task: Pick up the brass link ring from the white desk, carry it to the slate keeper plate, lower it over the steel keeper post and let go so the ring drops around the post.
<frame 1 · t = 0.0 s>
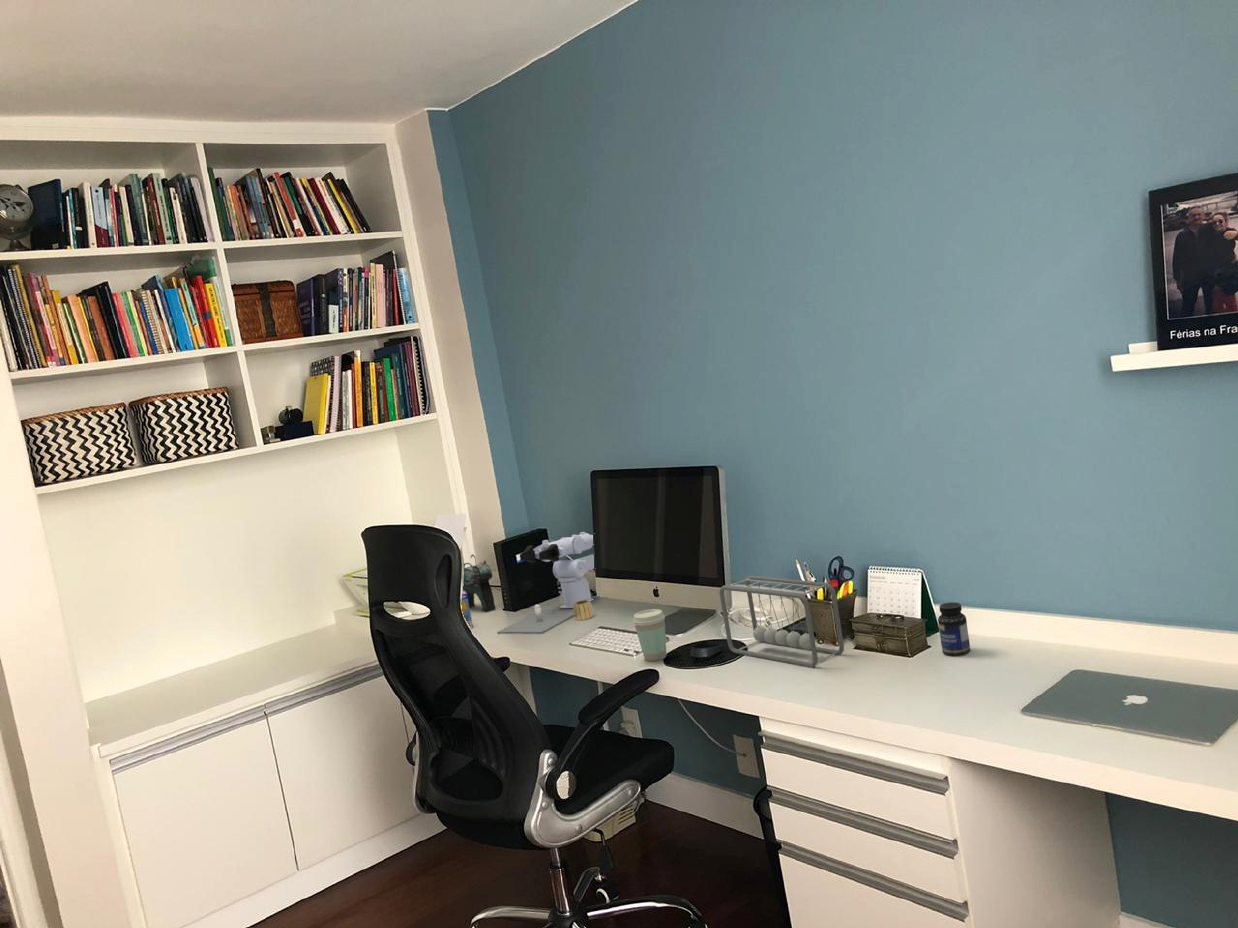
hand: (530, 556, 317), 22 cm above the table, tool horizontal, fingers open, 7 cm apart
ink cartridge box: (458, 630, 329), on the table
pill bottle: (956, 653, 225), on the table
coffee cup: (655, 658, 261), on the table
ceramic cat: (479, 609, 355), on the table
keeper post: (540, 622, 320), on the table
brass link ring: (584, 617, 316), on the table
newton's cradle: (785, 654, 245), on the table
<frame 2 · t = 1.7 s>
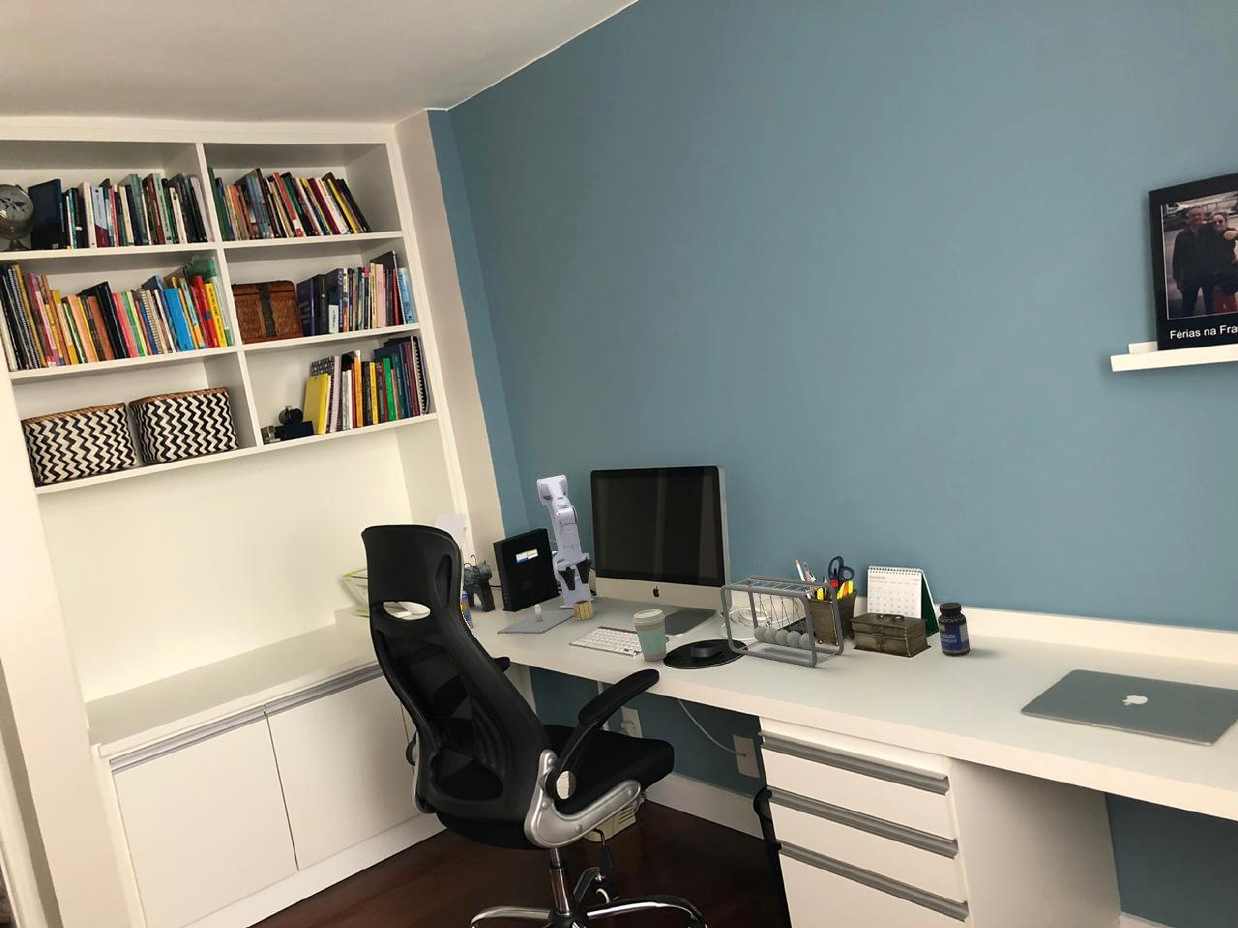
hand: (578, 586, 315), 10 cm above the table, tool pointing down, fingers open, 7 cm apart
nothing on the table moved.
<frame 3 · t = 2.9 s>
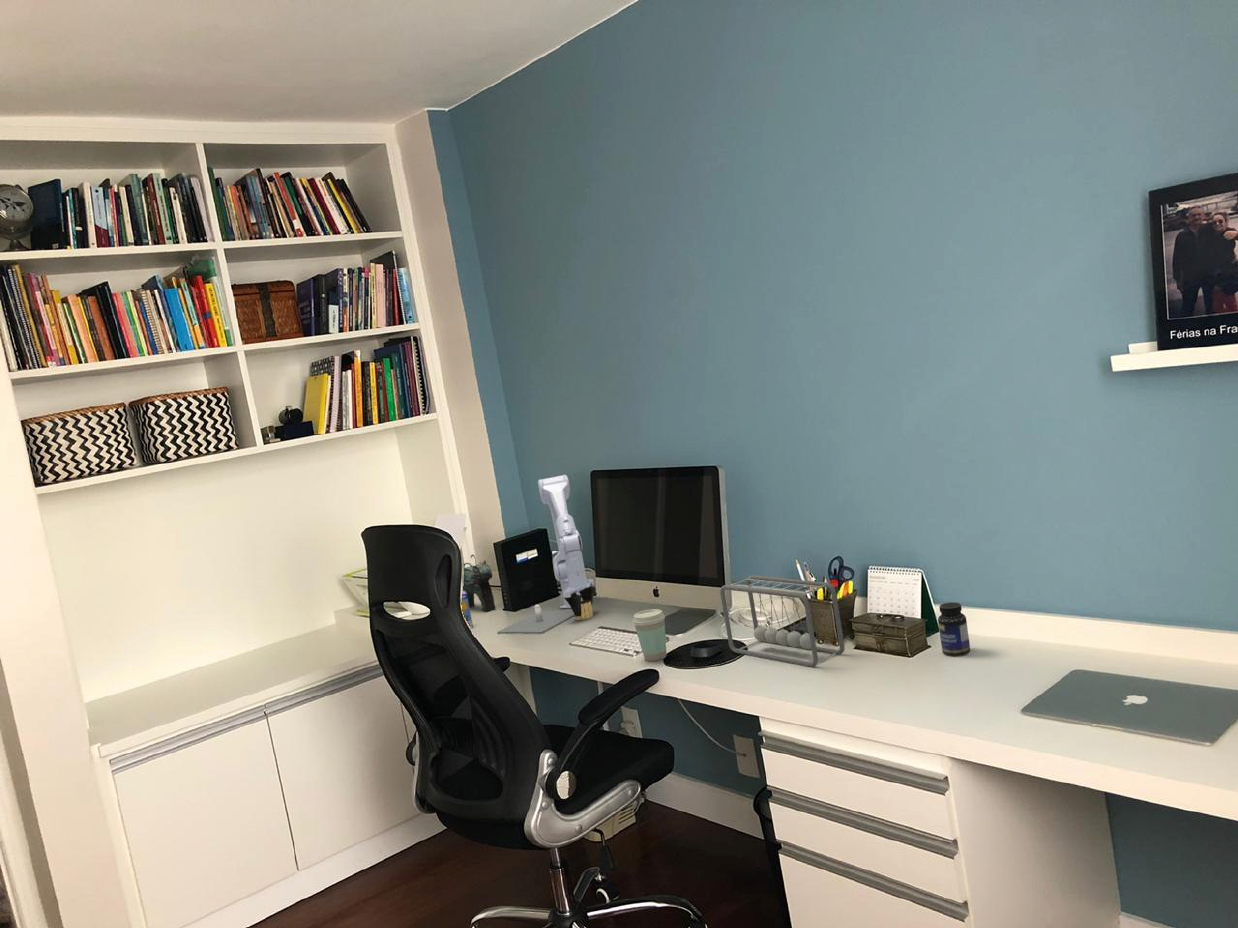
hand: (583, 613, 316), 1 cm above the table, tool pointing down, fingers closed on brass link ring, 6 cm apart
brass link ring: (584, 617, 316), on the table, touching gripper
everything else where it was.
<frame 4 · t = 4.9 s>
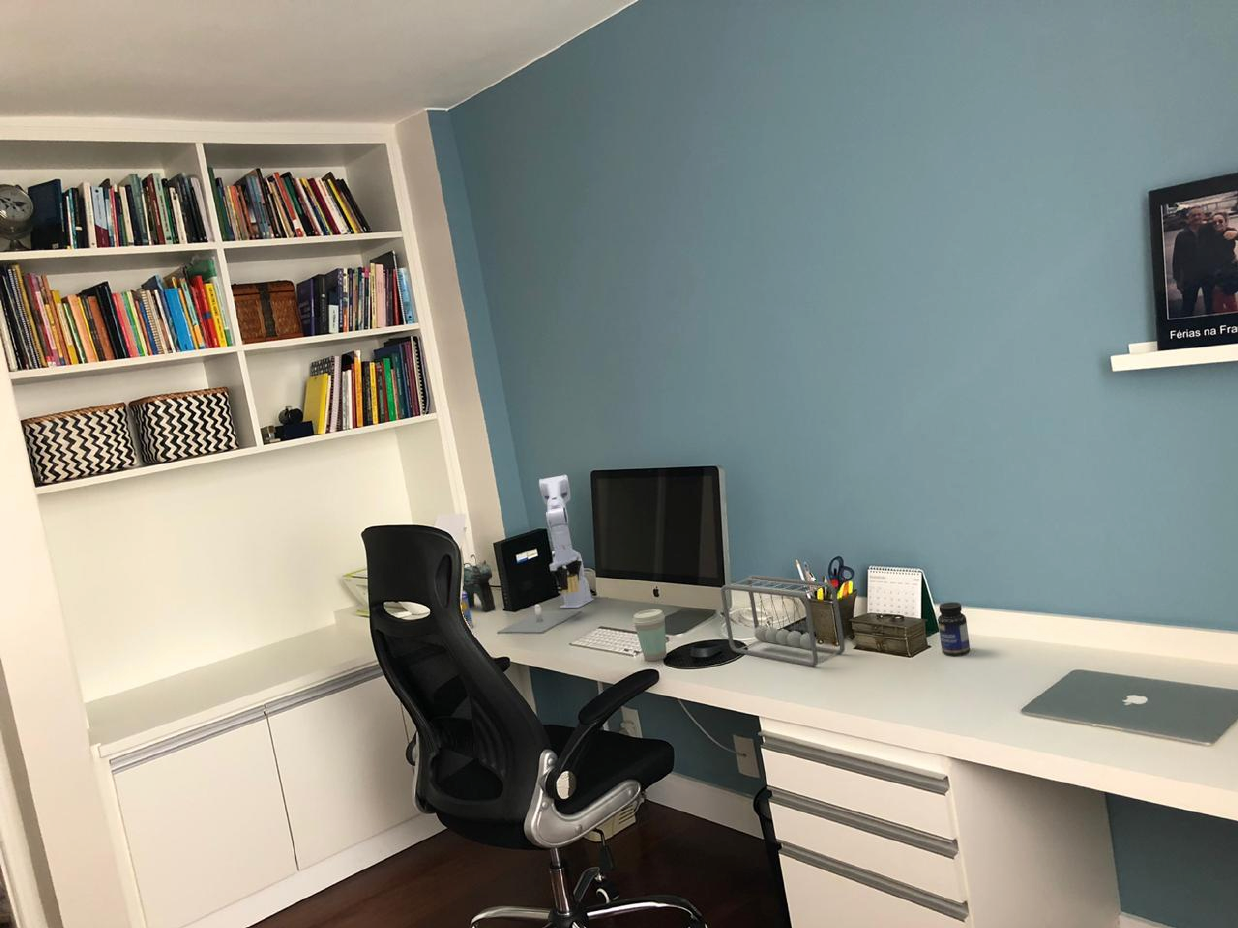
hand: (570, 586, 316), 10 cm above the table, tool pointing down, fingers closed on brass link ring, 6 cm apart
brass link ring: (570, 591, 316), point 9 cm above the table, touching gripper
everything else where it was.
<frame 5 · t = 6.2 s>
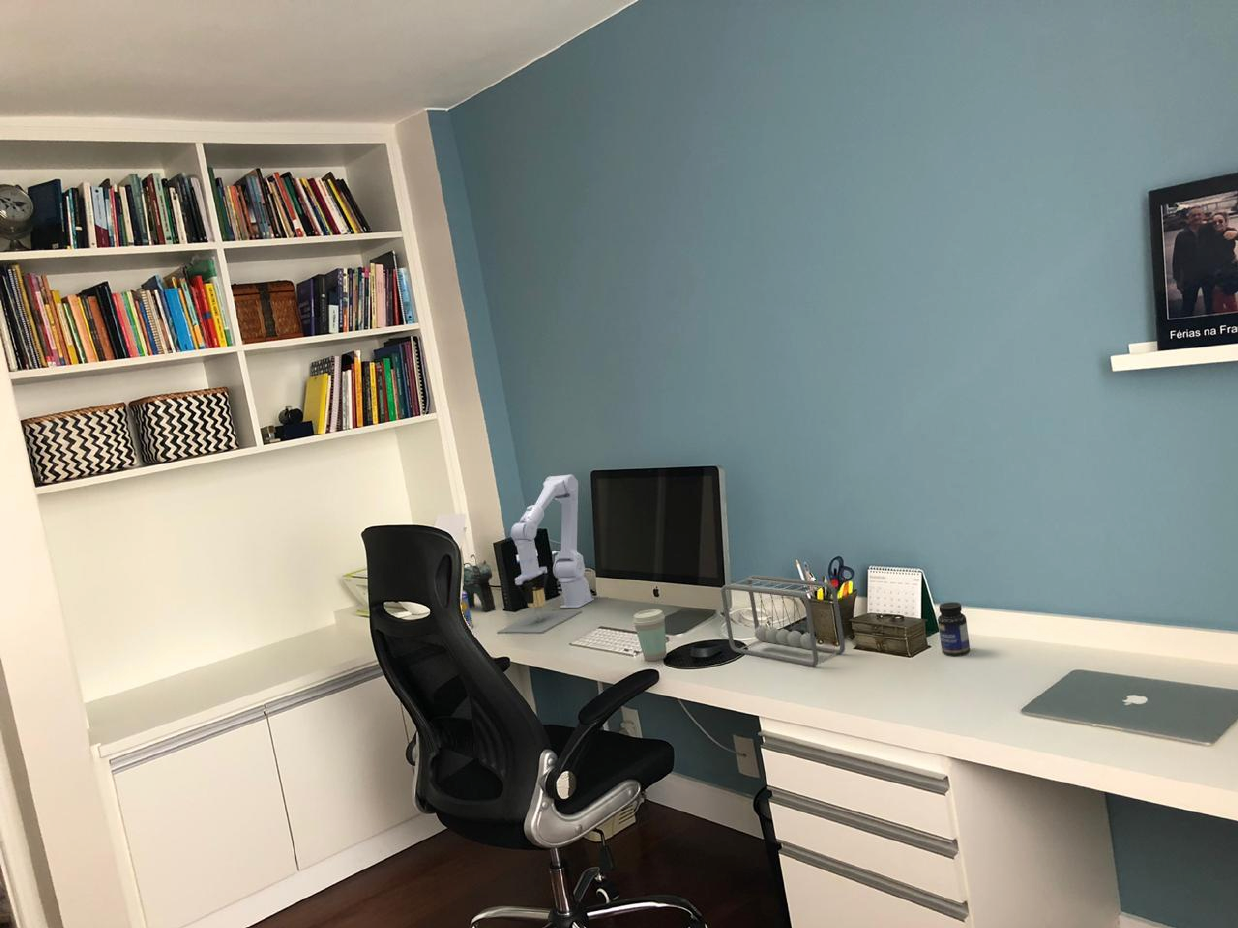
hand: (536, 600, 319), 7 cm above the table, tool pointing down, fingers closed on brass link ring, 6 cm apart
brass link ring: (537, 604, 319), point 6 cm above the table, touching gripper
everything else where it was.
when the fingers open (5 cm above the table, at t = 7.2 s): brass link ring drops 3 cm, resting on keeper post.
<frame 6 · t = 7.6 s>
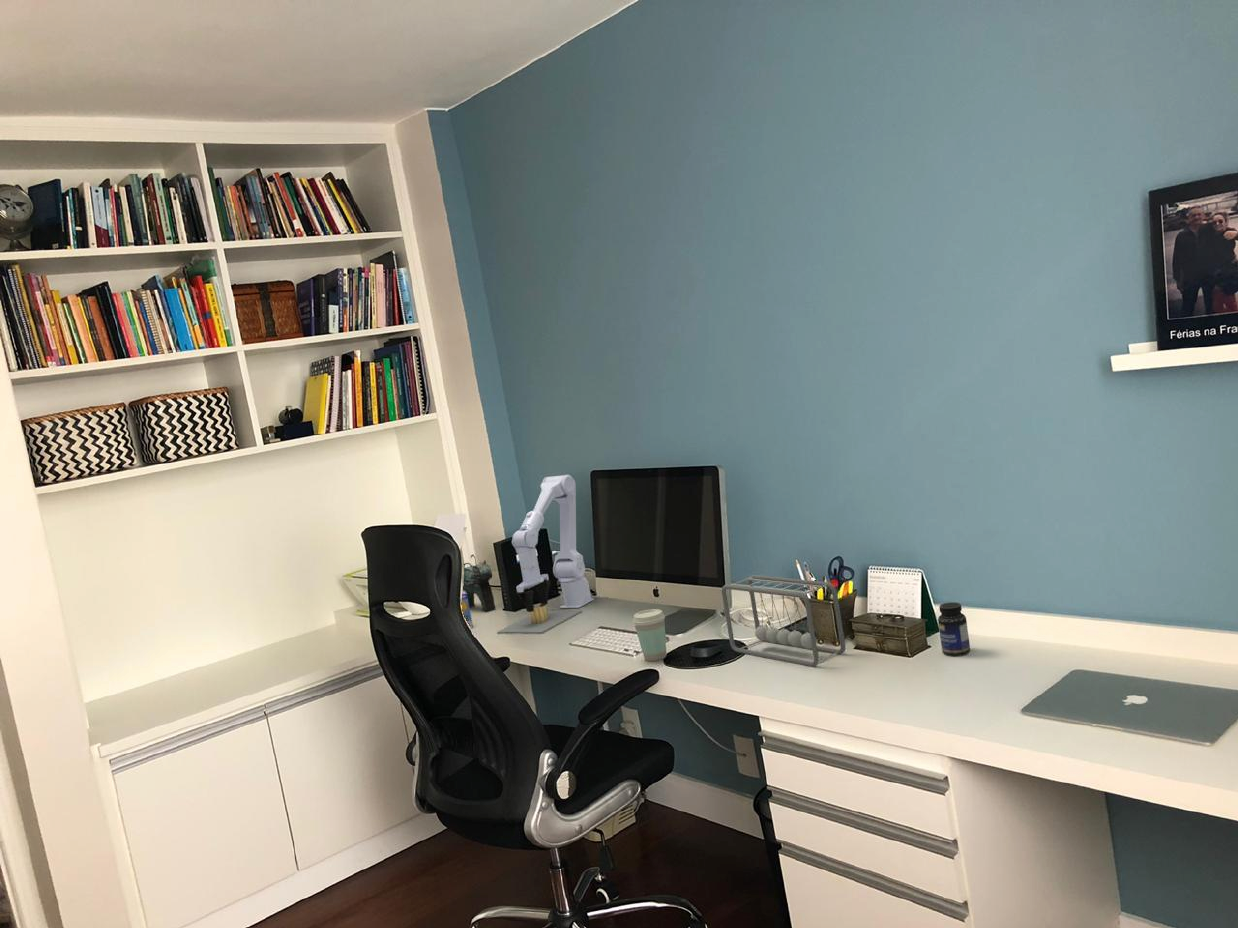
hand: (537, 607, 319), 5 cm above the table, tool pointing down, fingers open, 7 cm apart
brass link ring: (540, 621, 319), resting on keeper post
everything else where it was.
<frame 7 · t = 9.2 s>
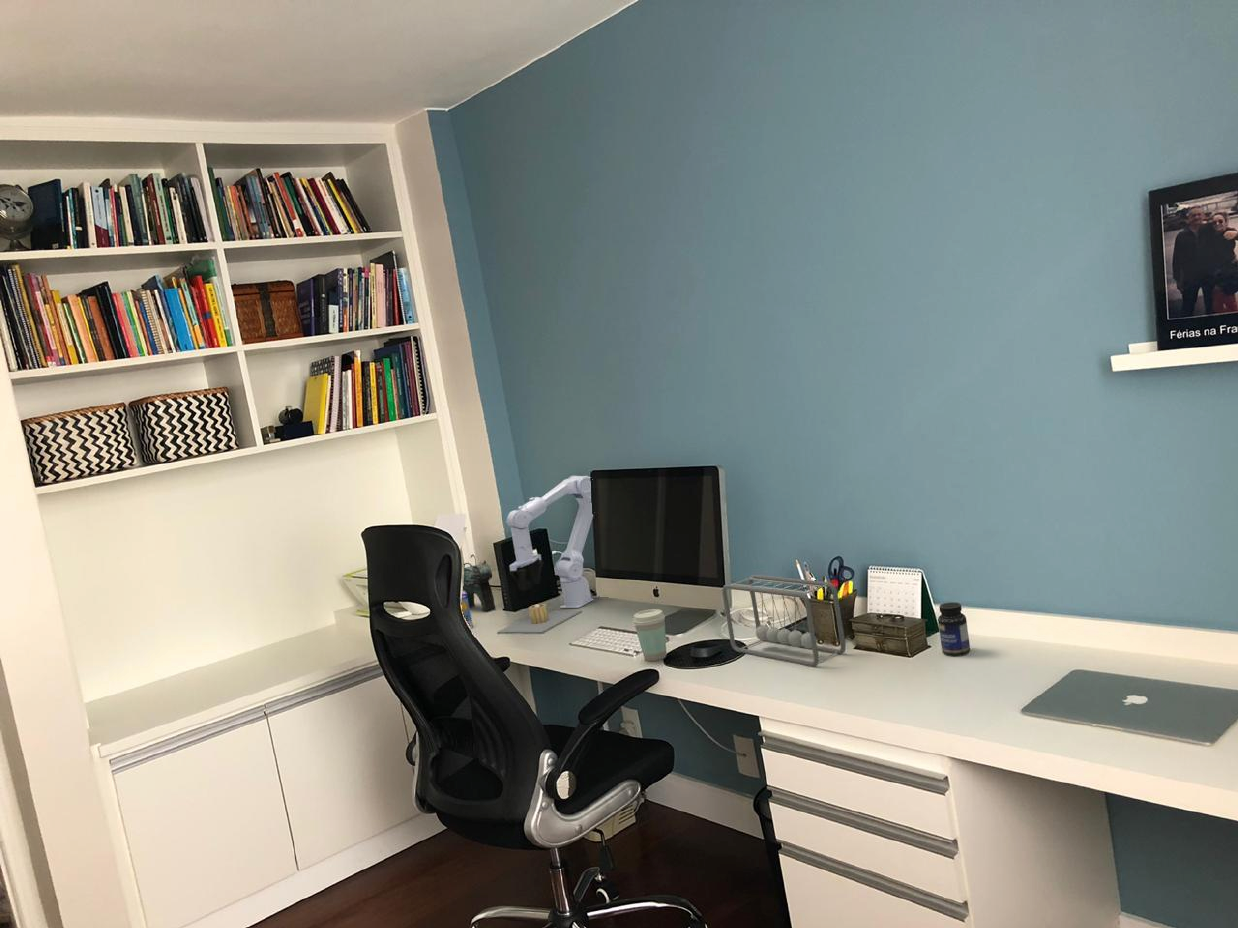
hand: (529, 586, 327), 10 cm above the table, tool pointing down, fingers open, 7 cm apart
nothing on the table moved.
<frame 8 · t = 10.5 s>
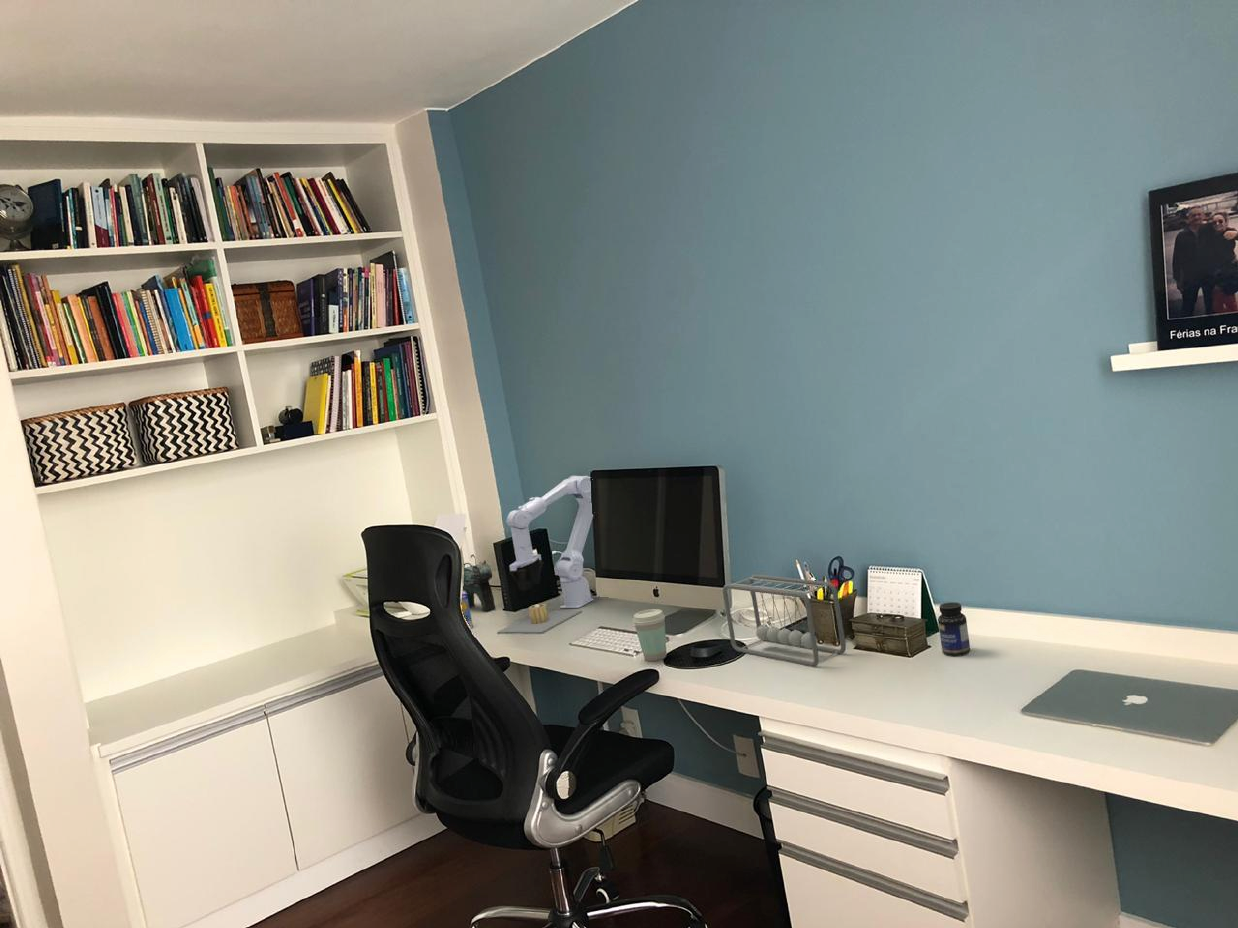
hand: (529, 586, 327), 10 cm above the table, tool pointing down, fingers open, 7 cm apart
nothing on the table moved.
at the end: brass link ring 0.1 cm from the keeper post (horizontally); brass link ring point 0.5 cm above the table; the gripper is holding nothing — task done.
